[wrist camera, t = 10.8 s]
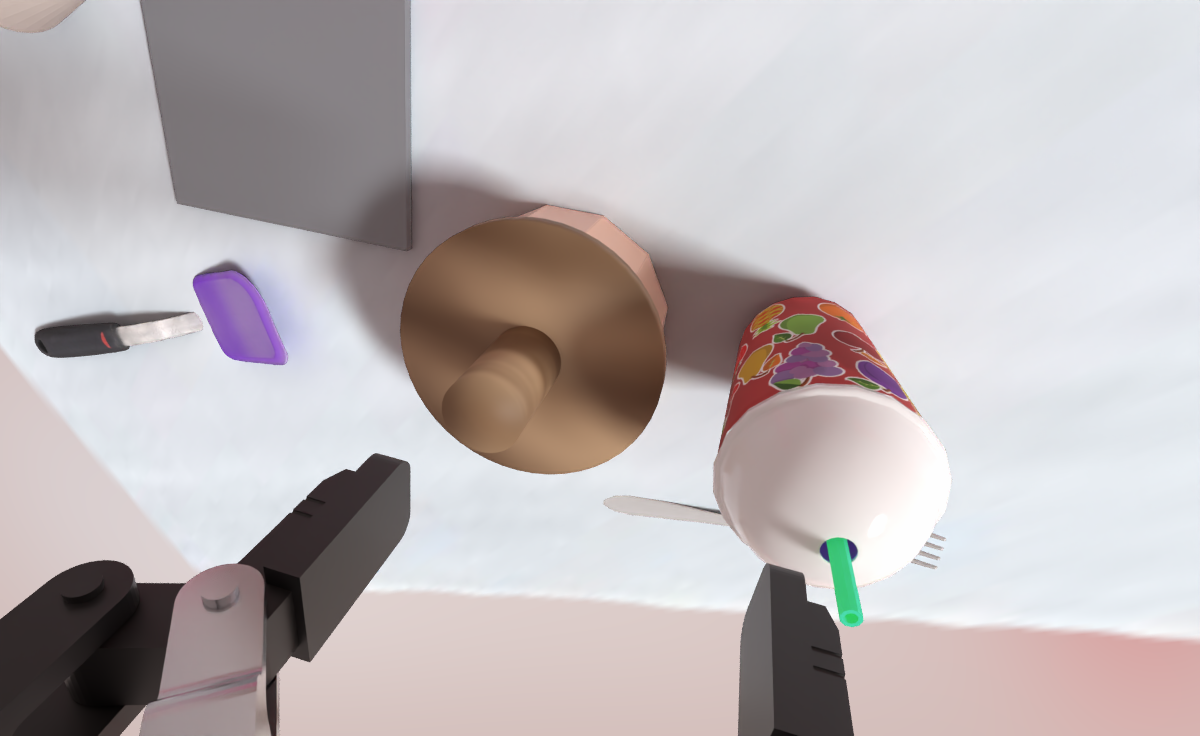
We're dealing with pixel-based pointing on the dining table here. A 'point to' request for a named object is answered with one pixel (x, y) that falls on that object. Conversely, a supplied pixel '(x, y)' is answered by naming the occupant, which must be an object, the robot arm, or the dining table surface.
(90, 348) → the spatula
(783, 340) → the smoothie
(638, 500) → the fork
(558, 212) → the bowl
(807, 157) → the dining table surface
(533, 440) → the lid
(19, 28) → the ice cream cone
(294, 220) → the mat
